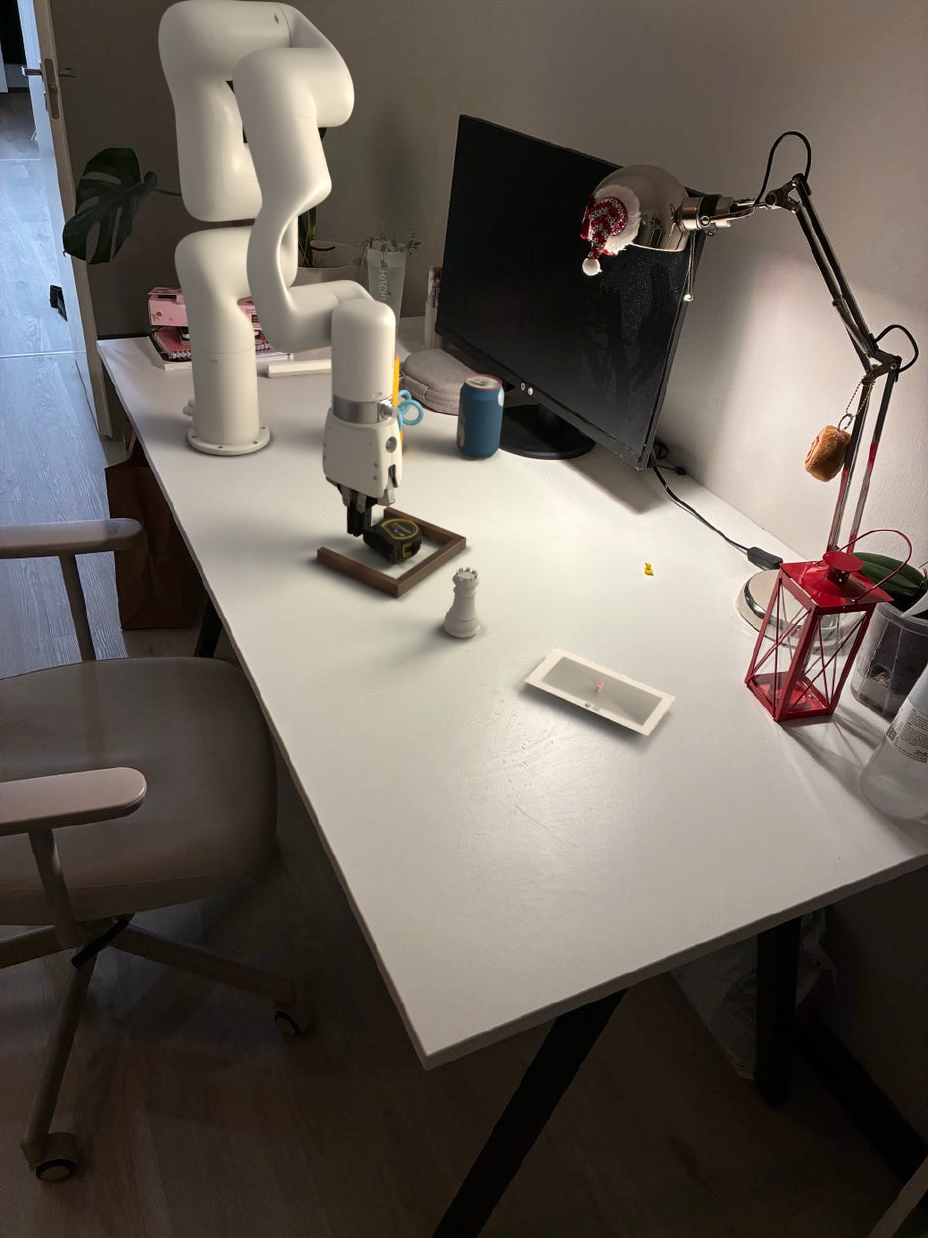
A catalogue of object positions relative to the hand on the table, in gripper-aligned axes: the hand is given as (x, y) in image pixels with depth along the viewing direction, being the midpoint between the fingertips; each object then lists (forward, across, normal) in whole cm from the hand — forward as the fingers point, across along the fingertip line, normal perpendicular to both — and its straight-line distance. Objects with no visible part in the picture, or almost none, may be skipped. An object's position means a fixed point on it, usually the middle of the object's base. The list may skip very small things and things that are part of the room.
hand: (358, 531), depth 130 cm
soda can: (+2, +3, -34) cm, 34 cm away
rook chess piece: (+1, -22, +8) cm, 24 cm away
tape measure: (+2, -6, 0) cm, 6 cm away
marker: (+2, +44, -41) cm, 60 cm away
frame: (+1, -5, 0) cm, 5 cm away
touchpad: (+1, -41, +9) cm, 42 cm away
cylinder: (+2, +15, -25) cm, 29 cm away
